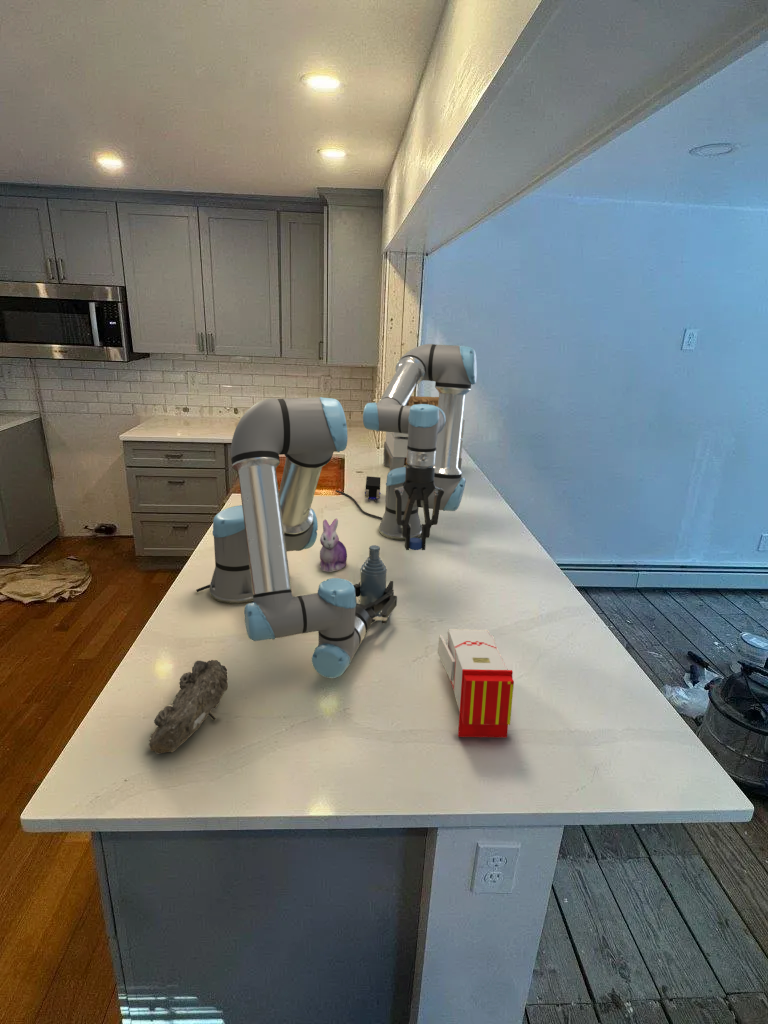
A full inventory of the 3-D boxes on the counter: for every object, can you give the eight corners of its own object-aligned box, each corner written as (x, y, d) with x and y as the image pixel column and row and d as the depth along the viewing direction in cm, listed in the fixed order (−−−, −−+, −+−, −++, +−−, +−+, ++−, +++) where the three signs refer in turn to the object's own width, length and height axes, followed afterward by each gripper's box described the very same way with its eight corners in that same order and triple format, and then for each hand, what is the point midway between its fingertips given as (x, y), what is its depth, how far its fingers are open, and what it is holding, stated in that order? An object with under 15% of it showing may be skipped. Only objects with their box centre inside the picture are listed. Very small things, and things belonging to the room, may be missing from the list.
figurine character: (380, 506, 230) (380, 491, 243) (381, 489, 227) (381, 475, 240) (364, 506, 230) (364, 491, 243) (364, 489, 226) (365, 474, 240)
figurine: (324, 575, 166) (325, 528, 161) (312, 561, 175) (312, 516, 170) (353, 570, 170) (355, 523, 165) (340, 557, 179) (341, 512, 174)
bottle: (376, 623, 143) (379, 554, 136) (354, 615, 146) (356, 548, 139) (389, 612, 148) (392, 545, 142) (367, 605, 151) (369, 539, 145)
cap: (421, 545, 157) (422, 537, 156) (422, 550, 153) (422, 543, 152) (407, 544, 157) (408, 537, 156) (408, 550, 153) (408, 542, 152)
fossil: (177, 661, 117) (228, 629, 112) (210, 691, 120) (261, 661, 115) (124, 747, 97) (183, 713, 92) (164, 781, 100) (223, 749, 95)
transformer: (382, 463, 289) (386, 382, 275) (445, 464, 293) (451, 384, 279) (390, 482, 257) (394, 392, 243) (460, 483, 261) (468, 394, 247)
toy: (488, 613, 130) (523, 677, 101) (484, 667, 133) (517, 744, 104) (435, 612, 130) (455, 676, 101) (432, 666, 133) (451, 743, 103)
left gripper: (310, 634, 132) (342, 590, 153) (391, 649, 127) (413, 602, 148) (310, 605, 129) (342, 565, 150) (393, 620, 125) (415, 576, 146)
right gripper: (390, 468, 143) (386, 553, 151) (455, 469, 145) (447, 553, 153) (386, 461, 150) (382, 542, 158) (448, 462, 152) (441, 542, 160)
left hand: (377, 583), depth 149 cm, fingers closed on bottle, 7 cm apart
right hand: (414, 548), depth 155 cm, fingers closed on cap, 4 cm apart
